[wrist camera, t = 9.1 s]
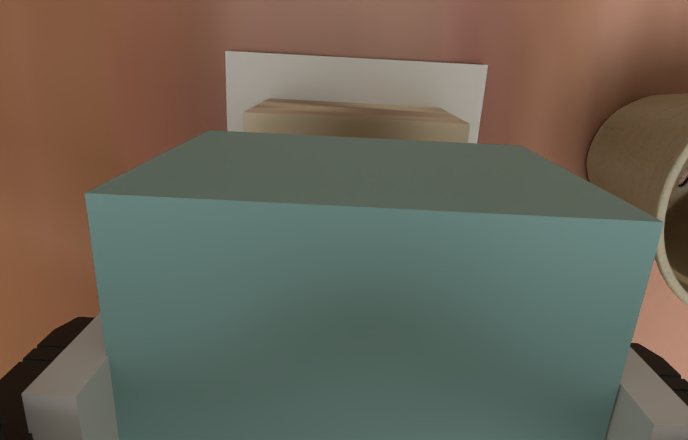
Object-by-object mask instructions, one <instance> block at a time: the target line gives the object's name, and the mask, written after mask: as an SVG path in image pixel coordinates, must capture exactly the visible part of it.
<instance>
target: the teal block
mask: <svg viewBox="0 0 688 440" xmlns="http://www.w3.org/2000/svg"><path fill="white" fill-rule="evenodd" d="M85 200H86V208H87V216H88V223H89V231H90V238H91V246H92V253H93V261H94V269H95V276H96V284H97V291H98V299H99V307H100V314H101V322H102V329H103V337H104V344H105V352H106V356H109V364H110V373H111V381H112V389H113V397H114V405H115V413H116V421H117V429H118V437H119V440H605V436H606V432H607V429H608V425H609V421H610V418H611V414H612V411H613V407H614V403H615V400H616V396H617V392H618V389H619V385H620V381H621V378H622V374H623V370H624V367H625V363H626V359H627V356H628V352H629V349H630V345H631V341H632V338H633V334H634V330H635V327H636V323H637V319H638V316H639V312H640V308H641V305H642V301H643V297H644V294H645V290H646V287H647V283H648V279H649V276H650V272H651V268H652V265H653V261H654V257H655V254H656V250H657V246H658V243H659V239H660V235H661V232H662V228H663V225H664V222H663V221H661V220H659V219H657V218H655V217H654V216H652V215H650V214H648V213H646V212H644V211H642V210H641V209H639V208H637V207H635V206H633V205H631V204H629V203H628V202H626V201H624V200H622V199H620V198H618V197H616V196H615V195H613V194H611V193H609V192H607V191H605V190H603V189H601V188H600V187H598V186H596V185H594V184H592V183H590V182H588V181H587V180H585V179H583V178H581V177H579V176H577V175H575V174H574V173H572V172H570V171H568V170H566V169H564V168H562V167H561V166H559V165H557V164H555V163H553V162H551V161H549V160H547V159H546V158H544V157H542V156H540V155H538V154H536V153H534V152H533V151H531V150H529V149H527V148H525V147H523V146H520V145H499V144H479V143H459V142H438V141H418V140H398V139H378V138H357V137H337V136H317V135H296V134H276V133H256V132H236V131H215V130H208V131H206V132H204V133H202V134H200V135H198V136H196V137H194V138H192V139H190V140H188V141H186V142H184V143H182V144H181V145H179V146H177V147H175V148H173V149H171V150H169V151H167V152H165V153H163V154H161V155H159V156H157V157H155V158H153V159H151V160H149V161H147V162H145V163H143V164H141V165H139V166H137V167H135V168H133V169H131V170H129V171H127V172H125V173H123V174H121V175H119V176H117V177H115V178H113V179H111V180H109V181H108V182H106V183H104V184H102V185H100V186H98V187H96V188H94V189H92V190H90V191H88V192H86V193H85Z"/></svg>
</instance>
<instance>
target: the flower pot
mask: <svg viewBox="0 0 688 440" xmlns="http://www.w3.org/2000/svg"><path fill="white" fill-rule="evenodd" d="M586 167H587V172H588V178H589V182H590V183H592V184H594V185H596V186H598V187H600V188H601V189H603V190H605V191H607V192H609V193H611V194H613V195H615V196H616V197H618V198H620V199H622V200H624V201H626V202H628V203H629V204H631V205H633V206H635V207H637V208H639V209H641V210H642V211H644V212H646V213H648V214H650V215H652V216H654V217H655V218H657V219H659V220H661V221H663V222H664V225H663V228H662V232H661V235H660V239H659V243H658V246H657V250H656V254H655V257H654V258H655V260H656V263H657V266H658V268H659V270H660V272H661V275H662V277H663V278H664V280H665V282H666V283H667V285H668V286H669V287H670V289H671V290H672V291H673V292H674V293H675V295H676V296H677V297H678V298H679V299H680V300H681V301H683V302H684V303H685V304H686V305H687V306H688V180H687V181H686V183H685V184H684V185H682V186H680V187H679V186H678V183H679V182H680V180H681V179H682V174H683V175H684V174H685V173H686V172H687V171H688V93H680V94H665V95H653V96H648V97H644V98H642V99H639V100H636V101H634V102H632V103H630V104H628V105H626V106H624V107H622V108H620V109H619V110H617V111H616V112H615V113H614V114H612V115H611V116H610V117H609V118H608V119H607V120H606V121H605V123H604V124H603V125H602V126H601V127H600V129H599V130H598V132H597V133H596V135H595V137H594V139H593V141H592V144H591V146H590V149H589V152H588V156H587V162H586Z"/></svg>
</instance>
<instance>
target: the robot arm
mask: <svg viewBox="0 0 688 440" xmlns="http://www.w3.org/2000/svg"><path fill="white" fill-rule="evenodd" d="M0 440H119V437H118V429H117V421H116V413H115V405H114V397H113V389H112V381H111V373H110V364H109V356H106V352H105V344H104V337H103V329H102V322H101V314H100V313H99V314H98V315H97V316H96V317H95V318H90V317H77V318H75V319H73V320H71V321H70V322H68V323H66V324H64V325H62V326H60V327H58V328H56V329H54V330H53V331H52V332H51V333H50V334H49V335H48V336H47V337H46V338H45V339H44V340H42V341H41V342H40V343H39V344H38V345H37V349H36V348H34V349H33V350H32V351H31V352H30V353H28V354H27V355H26V356H25V357H24V358H23V362H19V363H18V364H17V365H16V366H14V367H13V368H12V369H11V370H10V371H9V372H8V373H7V374H6V375H5V376H4V377H3V378H2V379H0ZM605 440H688V382H687V381H686V380H685V379H681V375H680V374H679V373H678V372H677V371H676V370H675V369H674V368H673V367H672V366H670V365H669V364H668V363H667V362H666V361H665V360H664V359H663V358H662V357H660V356H658V355H657V354H655V353H653V352H652V351H650V350H648V349H647V348H645V347H643V346H642V345H640V344H639V343H631V345H630V349H629V352H628V356H627V359H626V363H625V367H624V370H623V374H622V378H621V381H620V385H619V389H618V392H617V396H616V400H615V403H614V407H613V411H612V414H611V418H610V421H609V425H608V429H607V432H606V436H605Z"/></svg>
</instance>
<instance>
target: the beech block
mask: <svg viewBox="0 0 688 440" xmlns="http://www.w3.org/2000/svg"><path fill="white" fill-rule="evenodd" d="M469 130H470V124H469V123H467V122H465V121H464V120H462V119H460V118H458V117H456V116H454V115H452V114H451V113H449V112H447V111H445V110H443V109H441V108H440V107H422V106H403V105H384V104H366V103H347V102H328V101H309V100H291V99H272V98H269V99H267V100H265V101H263V102H261V103H259V104H257V105H256V106H254V107H252V108H250V109H248V110H246V111H244V112H243V132H256V133H276V134H296V135H317V136H337V137H357V138H378V139H398V140H418V141H438V142H459V143H468V137H469Z"/></svg>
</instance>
